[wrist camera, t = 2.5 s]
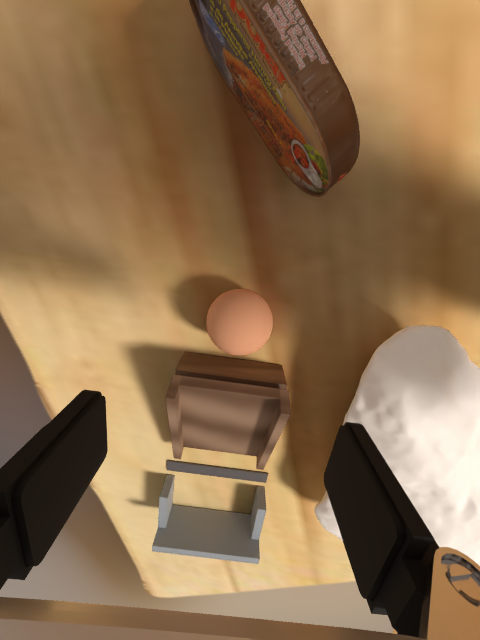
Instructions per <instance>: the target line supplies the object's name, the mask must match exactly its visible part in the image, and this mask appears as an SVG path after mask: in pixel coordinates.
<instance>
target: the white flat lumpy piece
mask: <svg viewBox="0 0 480 640" xmlns="http://www.w3.org/2000/svg"><path fill="white" fill-rule="evenodd" d="M346 422H352V423H360V424H362V425H363V426H364V428H365V429H366V431H367V432H368V434H369V436H370V437H371V439H372V440H373V442H374V443H375V445H376V447H377V448H378V450H379V451H380V453H381V455H382V456H383V458H384V459H385V461H386V463H387V464H388V466H389V467H390V469H391V470H392V472H393V474H394V475H395V477H396V478H397V480H398V482H399V483H400V485H401V486H402V488H403V490H404V491H405V493H406V494H407V496H408V497H409V499H410V501H411V502H412V504H413V505H414V507H415V509H416V510H417V512H418V513H419V515H420V517H421V518H422V520H423V521H424V523H425V524H426V526H427V528H428V529H429V531H430V532H431V534H432V536H433V537H434V539H435V541H436V543H437V544H438V546H439V547H449V548H453V549H456V550H458V551H460V552H461V553H463V554H465V555H467V556H468V557H469V558H471V559H472V560H473V561H475V562H476V563H477V564H478V565H479V566H480V368H479V367H478V366H477V365H475V364H474V363H473V362H472V361H470V359H469V357H468V354H467V352H466V350H465V349H464V348H463V347H462V346H461V345H460V343H459V342H458V341H457V339H456V338H455V337H454V336H453V335H452V334H451V333H450V331H449V330H446V329H444V328H443V327H439V326H427V325H421V326H408V327H405V328H404V329H401V330H400V331H398V332H396V333H395V334H394V335H392V336H391V337H390V338H389V339H387V340H386V341H384V342H383V343H382V344H381V345H380V346H379V347H378V348H377V349H376V351H375V352H374V354H373V355H372V357H371V359H370V361H369V363H368V365H367V367H366V368H365V370H364V372H363V374H362V376H361V379H360V384H359V386H358V389H357V391H356V394H355V397H354V399H353V401H352V403H351V405H350V408H349V410H348V412H347V413H346V415H345V418H344V422H343V425H344V424H345V423H346ZM315 514H316V516H317V518H318V520H319V521H320V523H321V524H322V526H323V527H324V529H325V530H327V531H329V532H330V533H332V534H334V535H336V536H337V537H338V538H339V539H341V540H342V541H343V539H342V536H341V533H340V530H339V527H338V524H337V521H336V518H335V515H334V512H333V509H332V506H331V503H330V500H329V497H328V494H327V490H326V491H325V494H324V497H323V498H322V499H321V501H320V502H319V503H318V504H316V506H315Z"/></svg>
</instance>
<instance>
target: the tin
mask: <svg viewBox="0 0 480 640" xmlns="http://www.w3.org/2000/svg"><path fill="white" fill-rule="evenodd" d="M189 2H190V5H191V8H192V11H193V14H194V16H195V19H196V22H197V25H198V27H199V30H200V32H201V35H202V38H203V40H204V42H205V45H206V47H207V49H208V51H209V53H210V55H211V57H212V59H213V61H214V63H215V65H216V67H217V69H218V71H219V72H220V74H221V76H222V77H223V79H224V81H225V82H226V84H227V85H228V87H229V89H230V90H231V92H232V93H233V95H234V96H235V98H236V99H237V101H238V102H239V104H240V105H241V107H242V108H243V110H244V111H245V113H246V114H247V116H248V117H249V119H250V120H251V122H252V123H253V125H254V126H255V128H256V129H257V131H258V132H259V134H260V136H261V137H262V139H263V140H264V142H265V143H266V145H267V146H268V148H269V149H270V151H271V152H272V154H273V155H274V157H275V158H276V160H277V161H278V163H279V164H280V166H281V167H282V169H283V170H284V171H285V173H286V174H287V175H288V176H289V177H290V179H291V180H292V181H293V182H294V183H295V184H296V185H297V186H298V187H299V188H300V189H302V190H303V191H305V192H306V193H308V194H310V195H312V196H317V197H320V196H323V195H324V194H325V193H326V192H327V191H328V190H329V188H331V187H332V186H333V185H334V184H335V183H337V182H338V181H339V180H340V179H342V178H343V177H344V176H345V175H346V174H347V173H348V172H349V171H350V170H351V168H352V167H353V165H354V164H355V162H356V159H357V157H358V152H359V145H360V134H359V124H358V119H357V114H356V111H355V107H354V104H353V101H352V98H351V95H350V92H349V90H348V88H347V85H346V84H345V82H344V80H343V78H342V76H341V74H340V72H339V70H338V69H337V67H336V65H335V63H334V61H333V59H332V57H331V56H330V54H329V52H328V50H327V48H326V47H325V45H324V43H323V41H322V39H321V37H320V36H319V34H318V32H317V30H316V28H315V27H314V25H313V22H312V21H311V19H310V17H309V15H308V14H307V12H306V10H305V8H304V6H303V5H302V3H301V1H300V0H189Z"/></svg>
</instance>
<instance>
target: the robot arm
mask: <svg viewBox="0 0 480 640" xmlns="http://www.w3.org/2000/svg"><path fill="white" fill-rule="evenodd" d="M106 454H107V426H106V401H105V397H104V396H102V395H101V392H99V391H90V390H83V391H82V392H80V393H79V394H78V395H77V396H76V397H75V398H74V399H73V400H72V401H71V402H70V403H69V404H68V405H67V406H66V407H65V408H64V409H63V410H62V411H61V412H60V413H59V414H58V415H57V416H56V417H55V418H54V419H53V420H52V421H51V422H50V423H49V424H47V425H46V426H44V427H43V428H42V429H41V430H40V431H39V432H38V433H37V434H36V435H35V436H34V437H33V438H32V439H31V440H30V441H29V442H27V443H26V444H25V445H24V446H23V447H22V448H21V449H20V450H19V451H18V452H17V453H16V454H15V455H14V456H13V457H12V458H11V459H10V460H9V461H8V462H7V463H6V464H5V465H4V466H3V467H2V468H1V469H0V589H1V588H2V586H3V585H4V583H5V582H6V580H7V579H20V580H25V578H26V577H27V575H28V574H29V572H30V570H31V569H32V567H33V566H37V565H39V564H40V563H41V561H42V560H43V558H44V557H45V555H46V553H47V552H48V550H49V549H50V547H51V546H52V544H53V542H54V541H55V539H56V537H57V536H58V534H59V533H60V531H61V529H62V528H63V526H64V524H65V523H66V521H67V520H68V518H69V516H70V515H71V513H72V511H73V510H74V508H75V507H76V505H77V503H78V502H79V500H80V498H81V497H82V495H83V494H84V492H85V490H86V489H87V487H88V485H89V484H90V482H91V481H92V479H93V477H94V476H95V474H96V472H97V471H98V469H99V468H100V466H101V464H102V463H103V461H104V459H105V457H106ZM324 484H325V487H326V490H327V494H328V497H329V500H330V503H331V506H332V509H333V512H334V515H335V518H336V521H337V524H338V527H339V530H340V533H341V536H342V539H343V543H344V546H345V549H346V552H347V555H348V558H349V561H350V564H351V567H352V570H353V573H354V576H355V579H356V582H357V585H358V588H359V591H360V594H361V595H362V597H363V598H365V599H367V602H368V605H369V608H370V610H371V613H372V614H382V615H388V617H389V619H390V622H391V625H392V627H393V633H384V632H376V631H368V630H359V629H351V628H343V627H333V626H322V625H312V624H303V623H293V622H283V621H273V620H263V619H253V618H242V617H232V616H221V615H211V614H200V613H189V612H178V611H168V610H157V609H146V608H135V607H123V606H111V605H100V604H89V603H77V602H66V601H53V600H37V599H22V598H6V597H0V640H480V566H479V565H478V564H477V563H476V562H475V561H473V560H472V559H471V558H469V557H468V556H467V555H465V554H463V553H461V552H460V551H458V550H456V549H453V548H449V547H439V546H438V544H437V543H436V541H435V539H434V537H433V536H432V534H431V532H430V531H429V529H428V528H427V526H426V524H425V523H424V521H423V520H422V518H421V517H420V515H419V513H418V512H417V510H416V509H415V507H414V505H413V504H412V502H411V501H410V499H409V497H408V496H407V494H406V493H405V491H404V490H403V488H402V486H401V485H400V483H399V482H398V480H397V478H396V477H395V475H394V474H393V472H392V470H391V469H390V467H389V466H388V464H387V463H386V461H385V459H384V458H383V456H382V455H381V453H380V451H379V450H378V448H377V447H376V445H375V443H374V442H373V440H372V439H371V437H370V436H369V434H368V432H367V431H366V429H365V428H364V426H363V425H362V424H360V423H352V422H346V423H345V424H344V425H341V426H340V428H339V431H338V434H337V437H336V440H335V443H334V446H333V449H332V452H331V455H330V458H329V461H328V464H327V467H326V470H325V473H324Z"/></svg>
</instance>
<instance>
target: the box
mask: <svg viewBox="0 0 480 640" xmlns="http://www.w3.org/2000/svg"><path fill="white" fill-rule="evenodd" d="M167 470H170V471H178V472H186V473H194V474H201V475H209V476H217V477H225V478H233V479H241V480H249V481H257V482H264V483H266V480H267V476H268V473H265V472H257V471H250V470H242V469H234V468H226V467H218V466H211V465H203V464H195V463H187V462H179V461H171V460H168V461H167ZM174 476H175V475H168V474H167V476H166V479H165V482H164V485H163V488H162V491H161V494H160V497H159V517H158V529H157V533H156V536H155V539H154V542H153V546H152V551H155V552H163V553H171V554H179V555H188V556H196V557H204V558H213V559H221V560H229V561H237V562H246V563H254V564H258V563H259V559H260V556H259V537H260V533H261V529H262V525H263V521H264V517H265V513H266V501H265V487H262V486H257V489H256V493H255V498H254V502H253V507H252V511H251V514H244V513H236V512H228V511H220V510H212V509H204V508H196V507H188V506H180V505H172V504H173V490H174Z"/></svg>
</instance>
